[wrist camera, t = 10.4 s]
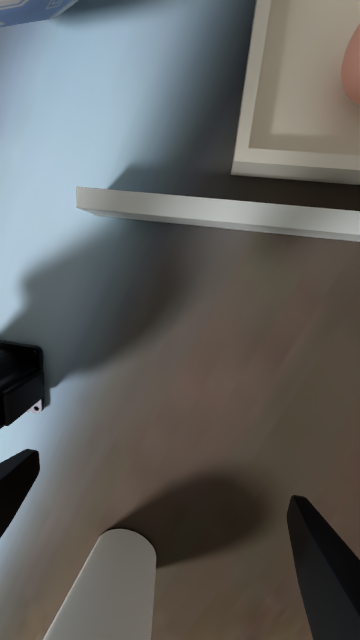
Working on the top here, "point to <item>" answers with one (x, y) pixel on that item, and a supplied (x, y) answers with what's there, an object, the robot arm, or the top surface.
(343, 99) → the dish
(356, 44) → the ball
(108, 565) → the cup
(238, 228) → the wall
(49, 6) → the ramen bowl
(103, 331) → the top surface
